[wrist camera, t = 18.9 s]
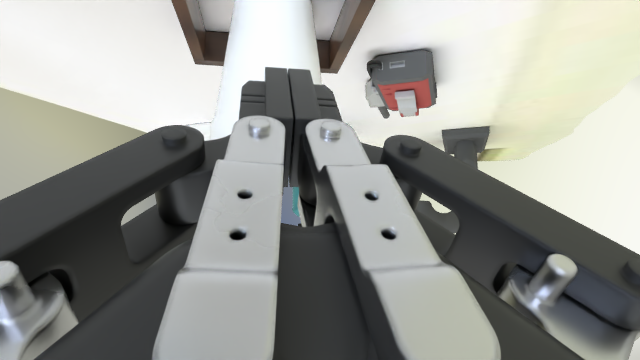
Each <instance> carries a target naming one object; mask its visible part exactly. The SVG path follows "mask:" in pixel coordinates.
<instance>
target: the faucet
mask: <svg viewBox="0 0 640 360" xmlns="http://www.w3.org/2000/svg"><path fill="white" fill-rule="evenodd" d="M488 136H489V127H477V128H464V129H452V130H442V137H443V143H444V148H445V152H446V153H448V154H454V157H455V158H457V159H459V160H461V161H463V162H465V163H467V164H468V165H470V166H472V167H474V168H476V169H478V167H477V153H481V152H482V151H483V150H484V148H485V145H486V142H487V139H488ZM416 210H418V211H419V212H421V213H422V214H424V215H426V216H427V217H429V218H430V219H432V220H433V221H435V222H436V223H438V224H439V225H441V226H443V227H444V228H446V229H447V230H449V231H450V232H452V233H457V231H458V229H459V220H458V218H457V216H456V215H455V213H454V212H453V211H451V212H449V213H439V212H437V211H435V210H434V208H433V207H432V205H431V203H430V202H429V201H419V203H418V206H417V208H416Z"/></svg>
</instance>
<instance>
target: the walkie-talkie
mask: <svg viewBox="0 0 640 360" xmlns="http://www.w3.org/2000/svg"><path fill="white" fill-rule="evenodd" d="M367 71H368V73H369V75H370V77H371V80H370V81H369V82H368V83H366V99H367V100H368V102H369V106H370V107H378V108H379V110H380V112H381V114H382V115H383V117H384V118H388V117H389V116H390V114H389V112H388V110H387V109H389V110H392V111H398V110H399V112H400V115H401V117H406V116H417V115H419V108H429V107H430V106H432V105H434V104H436V98H437V88H436V83H435V80H434V69H433V58H432V52H429V51H425V50H417V51H410V52H403V53H396V54H389V55H382V56H378V57H376V58H375V59H373V60H371V61H369V62H368V63H367Z"/></svg>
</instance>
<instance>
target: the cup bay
mask: <svg viewBox="0 0 640 360" xmlns="http://www.w3.org/2000/svg"><path fill="white" fill-rule="evenodd" d="M374 2H375V0H345V3H344V5H343V8H342V10H341V13H340V15H339V18H338V21H337V23H336V26H335V28H334V31H333V33H332V36H331V38H330V41H323V40H316V41H317V49H318V57H319V64H320V72H321V73H336V74H337V73H338V71H339V69H340V67H341V65H342V63H343V62H344V60H345V58H346V56H347V54H348V52H349V50H350V48H351V46H352V44H353V42H354V40H355V39H356V37H357V35H358V33H359V31H360V29H361V27H362V25H363V23H364V21H365V19H366V17H367V16H368V14H369V12H370V10H371V8H372V6H373V4H374ZM172 3H173V6H174V8H175V11H176V14H177V16H178V19H179V22H180V24H181V27H182V30H183V32H184V35H185V38H186V40H187V43H188V46H189V48H190V51H191V54H192V56H193V59H194V62H195V64H201V65H216V66H224V60H225V54H226V49H227V43H228V37H229V33H223V32H211V31H205V27H204V23H203V19H202V15H201V12H200V8H199V4H198V0H172Z"/></svg>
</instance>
